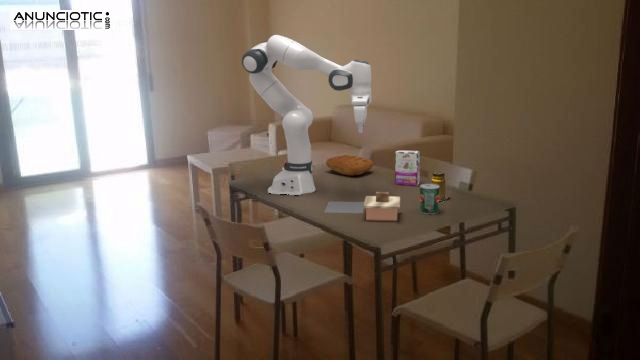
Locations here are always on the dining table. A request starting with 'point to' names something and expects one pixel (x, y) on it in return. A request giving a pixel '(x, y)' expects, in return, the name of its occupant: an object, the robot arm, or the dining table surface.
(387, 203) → the lid
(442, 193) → the condiment
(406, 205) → the dining table surface
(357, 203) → the mat
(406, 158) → the candy bar box
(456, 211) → the dining table surface
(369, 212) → the rectangular open box
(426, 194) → the canned tomato
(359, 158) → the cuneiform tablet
